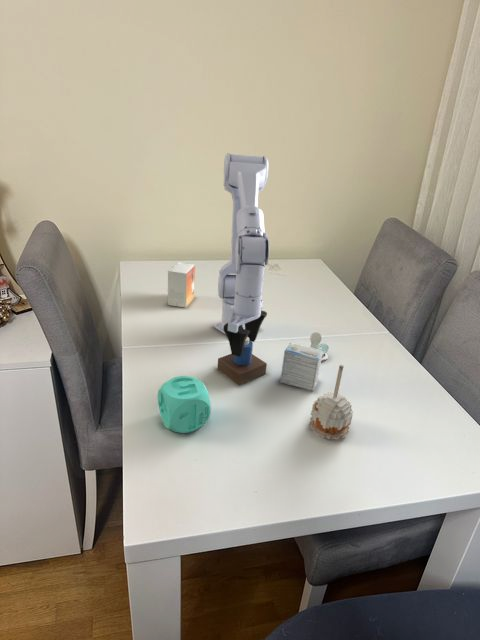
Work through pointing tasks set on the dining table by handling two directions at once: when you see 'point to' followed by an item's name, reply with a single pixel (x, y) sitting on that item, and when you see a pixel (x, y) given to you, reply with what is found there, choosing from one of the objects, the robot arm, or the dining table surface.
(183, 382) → the decorative dice
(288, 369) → the medicine box
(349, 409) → the caramel apple
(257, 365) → the walnut block
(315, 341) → the pacifier
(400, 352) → the dining table surface
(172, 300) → the small box
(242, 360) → the blue bottle
